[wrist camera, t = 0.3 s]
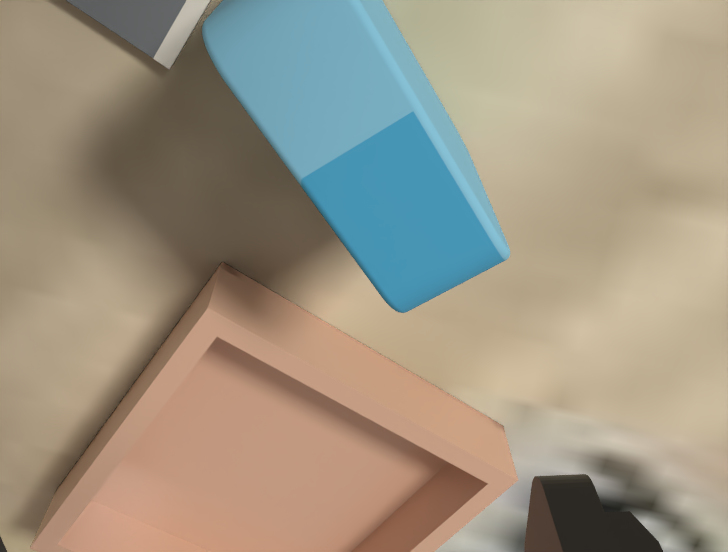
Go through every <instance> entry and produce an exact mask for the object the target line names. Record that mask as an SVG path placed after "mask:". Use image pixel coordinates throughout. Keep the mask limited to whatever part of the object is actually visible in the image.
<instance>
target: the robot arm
mask: <svg viewBox="0 0 728 552" xmlns="http://www.w3.org/2000/svg"><path fill="white" fill-rule="evenodd" d="M0 552H7V550H6V548H5V546H4V544H3V542H2V539H1V537H0ZM525 552H663V550H662V548H661V546H660V544H659V542H658V541H657V540H656V539H655V538H654V536H653V535H652V534H651V533H650V532H649V531H648V530H647V529H646V528H645V527H644V526H643V525H642V524H641V523H640V522H639V521H638V520H637V519H636V518H635V517H634V515H633V514H632V513H631V512H630V511H628V512H604V510H603V507H602V505H601V502H600V500H599V497H598V495H597V492H596V490H595V487H594V485H593V483H592V481H591V479H590V478H589V476H588V475H586V474H580V475H557V476H535V477H534V479H533V482H532V488H531V496H530V504H529V513H528V521H527V529H526V538H525Z"/></svg>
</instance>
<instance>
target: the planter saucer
mask: <svg viewBox="0 0 728 552" xmlns="http://www.w3.org/2000/svg"><path fill="white" fill-rule="evenodd" d="M517 481H518V478H517V474H516V471H515V467H514V463H513V460H512V456H511V453H510V449H509V445H508V442H507V438H506V435H505V431H504V428H503V426H502V425H501V424H499V423H497V422H496V421H494V420H492V419H490V418H489V417H487V416H485V415H484V414H482V413H480V412H478V411H477V410H475V409H473V408H472V407H470V406H468V405H466V404H465V403H463V402H461V401H460V400H458V399H456V398H454V397H453V396H451V395H449V394H448V393H446V392H444V391H442V390H441V389H439V388H437V387H436V386H434V385H432V384H430V383H429V382H427V381H425V380H424V379H422V378H420V377H419V376H417V375H415V374H413V373H412V372H410V371H408V370H407V369H405V368H403V367H401V366H400V365H398V364H396V363H395V362H393V361H391V360H389V359H388V358H386V357H384V356H383V355H381V354H379V353H377V352H376V351H374V350H372V349H371V348H369V347H367V346H365V345H364V344H362V343H360V342H359V341H357V340H355V339H353V338H352V337H350V336H348V335H347V334H345V333H343V332H341V331H340V330H338V329H336V328H335V327H333V326H331V325H329V324H328V323H326V322H324V321H323V320H321V319H319V318H317V317H316V316H314V315H312V314H311V313H309V312H307V311H305V310H304V309H302V308H300V307H299V306H297V305H295V304H293V303H292V302H290V301H288V300H287V299H285V298H283V297H281V296H280V295H278V294H276V293H275V292H273V291H271V290H269V289H268V288H266V287H264V286H263V285H261V284H259V283H258V282H256V281H254V280H252V279H251V278H249V277H247V276H246V275H244V274H242V273H240V272H239V271H237V270H235V269H234V268H232V267H230V266H228V265H227V264H225V263H223V262H222V263H221V264H220V265H219V267H218V268H217V270H216V271H215V272H214V274H213V275H212V276H211V278H210V279H209V281H208V282H207V283H206V285H205V286H204V287H203V289H202V290H201V292H200V293H199V294H198V296H197V297H196V299H195V300H194V301H193V303H192V304H191V305H190V307H189V308H188V310H187V311H186V312H185V314H184V315H183V316H182V318H181V319H180V321H179V322H178V323H177V325H176V326H175V327H174V329H173V330H172V332H171V333H170V334H169V336H168V337H167V338H166V340H165V341H164V343H163V344H162V345H161V347H160V348H159V350H158V351H157V352H156V354H155V355H154V356H153V358H152V359H151V361H150V362H149V363H148V365H147V366H146V367H145V369H144V370H143V372H142V373H141V374H140V376H139V377H138V378H137V380H136V381H135V383H134V384H133V385H132V387H131V388H130V390H129V391H128V392H127V394H126V395H125V396H124V398H123V399H122V401H121V402H120V403H119V405H118V406H117V407H116V409H115V410H114V412H113V413H112V414H111V416H110V417H109V418H108V420H107V421H106V423H105V424H104V425H103V427H102V428H101V429H100V431H99V432H98V434H97V435H96V436H95V438H94V439H93V441H92V442H91V443H90V445H89V446H88V447H87V449H86V450H85V452H84V453H83V454H82V456H81V457H80V458H79V460H78V461H77V463H76V464H75V465H74V467H73V468H72V469H71V471H70V472H69V474H68V475H67V476H66V478H65V479H64V481H63V482H62V483H61V485H60V486H59V487H58V489H57V490H56V492H55V494H54V496H53V499H52V501H51V503H50V505H49V507H48V509H47V512H46V514H45V516H44V518H43V520H42V522H41V525H40V527H39V529H38V531H37V533H36V535H35V538H34V540H33V542H32V544H31V546H30V549H33V550H35V551H38V552H434V551H435V550H437V549H438V548H439V547H440V546H441V545H443V544H444V543H445V542H446V541H447V540H448V539H450V538H451V537H452V536H453V535H454V534H455V533H457V532H458V531H459V530H460V529H461V528H463V527H464V526H465V525H466V524H467V523H468V522H470V521H471V520H472V519H473V518H474V517H475V516H477V515H478V514H479V513H480V512H481V511H482V510H484V509H485V508H486V507H487V506H488V505H490V504H491V503H492V502H493V501H494V500H495V499H497V498H498V497H499V496H500V495H501V494H502V493H504V492H505V491H506V490H507V489H508V488H510V487H511V486H512V485H513V484H514V483H515V482H517Z"/></svg>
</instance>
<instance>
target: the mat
mask: <svg viewBox="0 0 728 552" xmlns="http://www.w3.org/2000/svg"><path fill="white" fill-rule="evenodd" d="M66 1H68V2H69V3H71V4H72V5H74V6H75V7H77V8H78V9H80V10H81V11H83V12H84V13H86V14H87V15H89V16H90V17H92V18H93V19H95V20H96V21H98V22H99V23H101V24H102V25H104V26H105V27H107V28H108V29H110V30H111V31H113V32H114V33H116V34H117V35H119V36H120V37H122V38H123V39H125V40H126V41H128V42H129V43H131V44H132V45H134V46H135V47H137V48H138V49H140V50H141V51H143V52H144V53H146V54H147V55H149V56H150V57H152V58H153V59H154V60H156V61H157V62H159V63H160V64H162V65H163V66H165V67H166V68H168V69H170V68H171V67H172V66H173V64H174V62H175V61H176V59H177V57H178V56H179V54H180V52H181V50H182V49H183V47H184V45H185V44H186V42H187V40H188V39H189V37H190V35H191V34H192V32H193V30H194V28H195V27H196V25H197V23H198V22H199V20H200V18H201V17H202V15H203V13H204V12H205V10H206V8H207V6H208V5H209V3H210V1H211V0H66Z"/></svg>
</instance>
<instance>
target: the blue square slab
mask: <svg viewBox="0 0 728 552" xmlns="http://www.w3.org/2000/svg"><path fill="white" fill-rule="evenodd" d="M202 35H203V40H204V43H205V46H206V49H207V51H208V53H209V56H210V58H211V60H212V62H213V63H214V65H215V67H216V69H217V70H218V72H219V74H220V75H221V77H222V78H223V80H224V81H225V83H226V84H227V86H228V87H229V88H230V90H231V91H232V92H233V94H234V95H235V97H236V98H237V99H238V101H239V102H240V103H241V105H242V106H243V107H244V109H245V110H246V112H247V113H248V114H249V116H250V117H251V118H252V120H253V121H254V123H255V124H256V125H257V127H258V128H259V129H260V131H261V132H262V133H263V135H264V136H265V138H266V139H267V140H268V142H269V143H270V144H271V146H272V147H273V149H274V150H275V151H276V153H277V154H278V155H279V157H280V158H281V160H282V161H283V162H284V164H285V165H286V166H287V168H288V169H289V170H290V172H291V173H292V175H293V176H294V177H295V179H296V180H297V181H298V183H299V184H300V186H301V187H302V188H303V190H304V191H305V192H306V194H307V195H308V196H309V198H310V199H311V201H312V202H313V203H314V205H315V206H316V207H317V209H318V210H319V212H320V213H321V214H322V216H323V217H324V218H325V220H326V221H327V222H328V224H329V225H330V227H331V228H332V229H333V231H334V232H335V233H336V235H337V236H338V238H339V239H340V240H341V242H342V243H343V244H344V246H345V247H346V249H347V250H348V251H349V253H350V254H351V255H352V257H353V258H354V259H355V261H356V262H357V264H358V265H359V266H360V268H361V269H362V270H363V272H364V273H365V275H366V276H367V277H368V279H369V280H370V281H371V283H372V284H373V285H374V287H375V288H376V290H377V291H378V292H379V294H380V295H381V296H382V298H383V299H384V300H385V301H386V303H387V304H388V305H389V306H390V307H391V308H393V309H394V310H395V311H397V312H401V313H405V312H408V311H409V310H411V309H413V308H415V307H417V306H419V305H421V304H423V303H425V302H427V301H429V300H430V299H432V298H434V297H436V296H438V295H440V294H442V293H444V292H446V291H448V290H450V289H452V288H453V287H455V286H457V285H459V284H461V283H463V282H465V281H467V280H469V279H471V278H473V277H474V276H476V275H478V274H480V273H482V272H484V271H486V270H488V269H490V268H492V267H494V266H495V265H497V264H499V263H501V262H503V261H505V260H507V259H508V258H509V256H510V249H509V246H508V244H507V241H506V239H505V237H504V234H503V232H502V230H501V227H500V225H499V223H498V220H497V218H496V215H495V213H494V211H493V208H492V206H491V204H490V201H489V199H488V197H487V194H486V192H485V190H484V187H483V185H482V182H481V180H480V178H479V175H478V173H477V171H476V168H475V166H474V164H473V161H472V159H471V157H470V154H469V152H468V150H467V148H466V146H465V144H464V142H463V140H462V139H461V137H460V135H459V133H458V131H457V129H456V128H455V126H454V124H453V122H452V121H451V119H450V117H449V115H448V114H447V112H446V110H445V108H444V107H443V105H442V103H441V102H440V100H439V98H438V96H437V95H436V93H435V91H434V89H433V88H432V86H431V84H430V82H429V81H428V79H427V77H426V75H425V74H424V72H423V70H422V69H421V67H420V65H419V63H418V62H417V60H416V58H415V56H414V55H413V53H412V51H411V49H410V48H409V46H408V44H407V43H406V41H405V39H404V37H403V36H402V34H401V32H400V30H399V29H398V27H397V25H396V23H395V22H394V20H393V18H392V16H391V15H390V13H389V11H388V10H387V8H386V6H385V4H384V3H383V1H382V0H223V1H222V2H221V3H220V4H219V5H218V6H217V8H216V9H215V10H214V11H213V12H212V13H211V14H210V15H209V17H208V18H207V19H206V20H205V21H204V23H203V27H202Z"/></svg>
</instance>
